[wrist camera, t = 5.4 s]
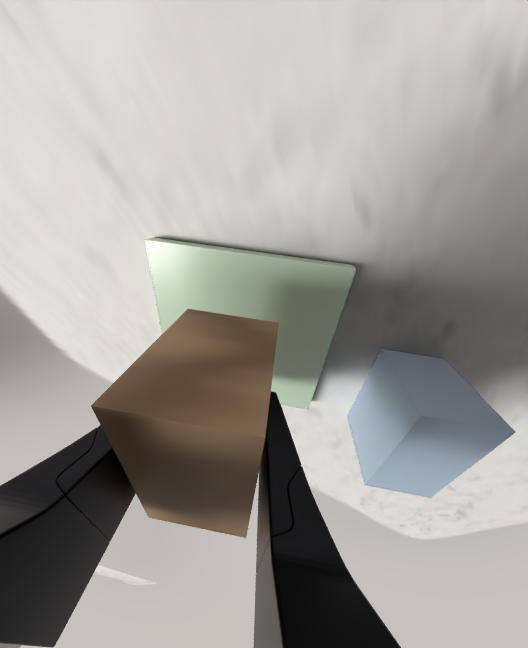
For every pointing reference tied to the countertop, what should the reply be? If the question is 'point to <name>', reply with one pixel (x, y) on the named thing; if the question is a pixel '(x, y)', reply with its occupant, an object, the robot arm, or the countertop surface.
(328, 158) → the countertop surface
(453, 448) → the slate brick
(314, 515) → the robot arm
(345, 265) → the baseplate
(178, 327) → the walnut brick
